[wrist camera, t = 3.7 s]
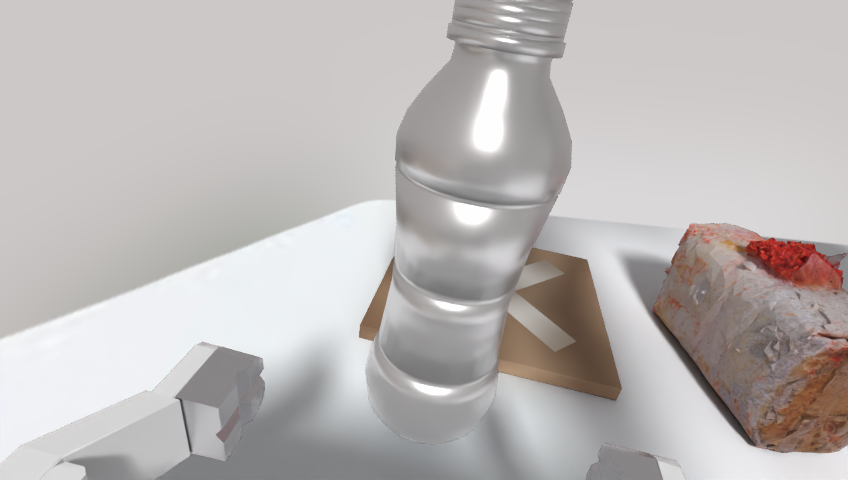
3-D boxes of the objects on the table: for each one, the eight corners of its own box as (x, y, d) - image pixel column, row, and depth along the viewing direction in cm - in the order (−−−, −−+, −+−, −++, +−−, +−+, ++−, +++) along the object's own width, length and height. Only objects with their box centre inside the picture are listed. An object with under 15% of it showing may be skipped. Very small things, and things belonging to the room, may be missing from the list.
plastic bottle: (375, 353, 27) (422, -27, 17) (485, 374, 27) (597, 2, 17) (347, 449, 21) (393, -39, 11) (486, 476, 21) (657, 5, 11)
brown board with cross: (583, 269, 39) (587, 259, 39) (615, 400, 26) (621, 388, 26) (409, 230, 41) (411, 220, 40) (359, 337, 28) (360, 324, 27)
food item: (631, 300, 36) (683, 191, 31) (721, 310, 37) (785, 204, 32) (738, 454, 24) (849, 316, 19) (867, 463, 25) (1005, 333, 20)
